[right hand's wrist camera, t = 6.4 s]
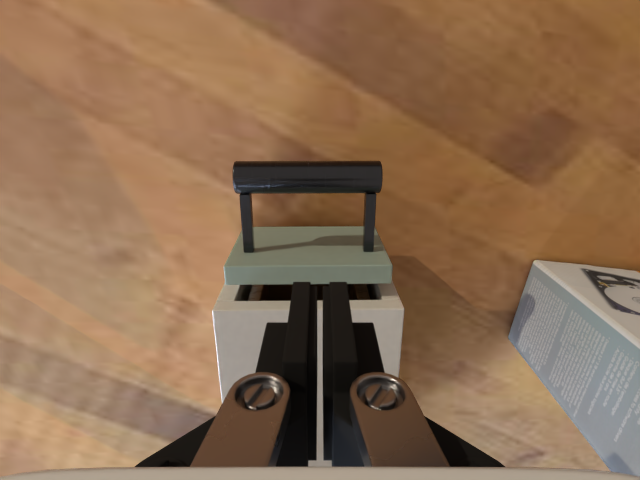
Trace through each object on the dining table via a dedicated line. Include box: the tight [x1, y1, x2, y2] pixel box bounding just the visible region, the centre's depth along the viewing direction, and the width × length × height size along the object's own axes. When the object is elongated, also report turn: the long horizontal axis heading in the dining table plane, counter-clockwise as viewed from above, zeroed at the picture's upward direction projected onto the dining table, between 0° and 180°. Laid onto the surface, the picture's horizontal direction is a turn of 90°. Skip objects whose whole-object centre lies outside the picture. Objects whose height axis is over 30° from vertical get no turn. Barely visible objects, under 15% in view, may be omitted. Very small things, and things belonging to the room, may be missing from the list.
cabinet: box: [212, 281, 404, 467], centre depth 29 cm, size 17×11×9 cm, turn 0°
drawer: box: [224, 161, 393, 301], centre depth 27 cm, size 21×9×7 cm, turn 0°
